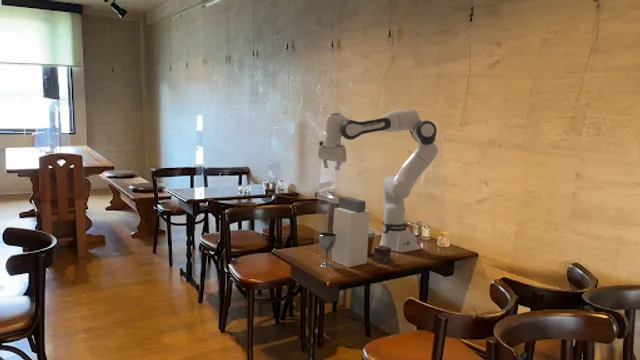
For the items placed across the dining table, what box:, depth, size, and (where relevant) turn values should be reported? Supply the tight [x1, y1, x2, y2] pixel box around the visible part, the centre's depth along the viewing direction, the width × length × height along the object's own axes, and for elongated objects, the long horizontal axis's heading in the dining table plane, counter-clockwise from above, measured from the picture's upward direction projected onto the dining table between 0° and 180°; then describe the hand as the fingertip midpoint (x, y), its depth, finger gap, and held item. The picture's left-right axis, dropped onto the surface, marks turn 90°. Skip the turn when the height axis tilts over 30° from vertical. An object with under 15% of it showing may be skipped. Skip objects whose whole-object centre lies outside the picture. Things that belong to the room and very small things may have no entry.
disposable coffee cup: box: [367, 229, 376, 256], centre depth 256 cm, size 10×10×12 cm
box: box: [373, 244, 392, 265], centre depth 244 cm, size 6×6×7 cm
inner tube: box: [314, 191, 340, 205], centre depth 250 cm, size 23×3×3 cm, turn 38°
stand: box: [331, 196, 370, 268], centre depth 240 cm, size 14×12×31 cm
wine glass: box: [318, 231, 336, 268], centre depth 235 cm, size 8×8×15 cm
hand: (331, 169), depth 269 cm, fingers open, 8 cm apart
